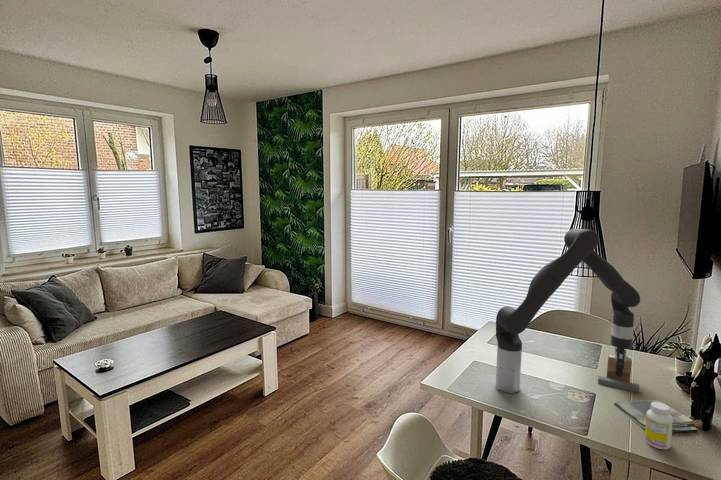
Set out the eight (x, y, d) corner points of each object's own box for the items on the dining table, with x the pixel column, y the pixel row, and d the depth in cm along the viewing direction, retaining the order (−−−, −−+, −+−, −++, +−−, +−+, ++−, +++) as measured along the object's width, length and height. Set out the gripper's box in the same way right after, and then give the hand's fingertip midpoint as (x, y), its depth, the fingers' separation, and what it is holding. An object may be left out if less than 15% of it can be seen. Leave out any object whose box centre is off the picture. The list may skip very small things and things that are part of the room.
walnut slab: (629, 386, 158) (631, 360, 156) (606, 381, 162) (608, 356, 161) (628, 381, 161) (631, 356, 160) (606, 376, 166) (608, 352, 164)
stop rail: (639, 392, 153) (639, 387, 152) (597, 383, 160) (598, 378, 160) (638, 389, 155) (639, 384, 155) (598, 380, 163) (598, 375, 162)
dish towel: (611, 405, 145) (612, 397, 144) (658, 404, 145) (659, 396, 145) (649, 436, 126) (650, 427, 126) (702, 435, 127) (703, 426, 126)
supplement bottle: (655, 435, 126) (658, 398, 124) (676, 448, 119) (679, 409, 118) (639, 439, 124) (641, 401, 123) (659, 452, 118) (662, 413, 116)
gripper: (633, 342, 151) (630, 381, 153) (632, 331, 163) (628, 367, 165) (611, 338, 155) (607, 376, 157) (611, 328, 167) (608, 363, 169)
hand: (618, 371), depth 161 cm, fingers open, 8 cm apart
